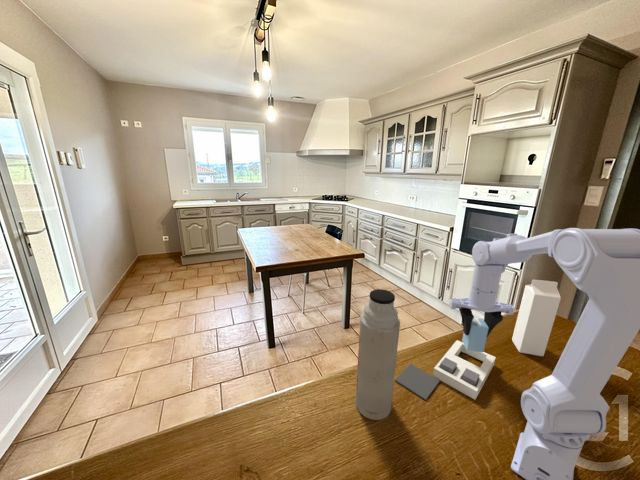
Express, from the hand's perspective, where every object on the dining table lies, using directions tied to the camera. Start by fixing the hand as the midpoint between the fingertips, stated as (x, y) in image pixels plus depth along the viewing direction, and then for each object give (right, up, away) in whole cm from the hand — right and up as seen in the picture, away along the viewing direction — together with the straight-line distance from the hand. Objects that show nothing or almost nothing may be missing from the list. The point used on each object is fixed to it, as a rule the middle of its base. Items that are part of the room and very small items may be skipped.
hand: (475, 334), depth 70 cm
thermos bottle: (-29, -13, -10) cm, 33 cm away
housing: (-3, -10, 0) cm, 10 cm away
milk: (+21, -7, +9) cm, 24 cm away
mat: (-17, -11, -4) cm, 20 cm away
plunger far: (-8, -10, -2) cm, 13 cm away
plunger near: (-5, -11, -5) cm, 13 cm away
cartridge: (0, -4, +1) cm, 4 cm away
